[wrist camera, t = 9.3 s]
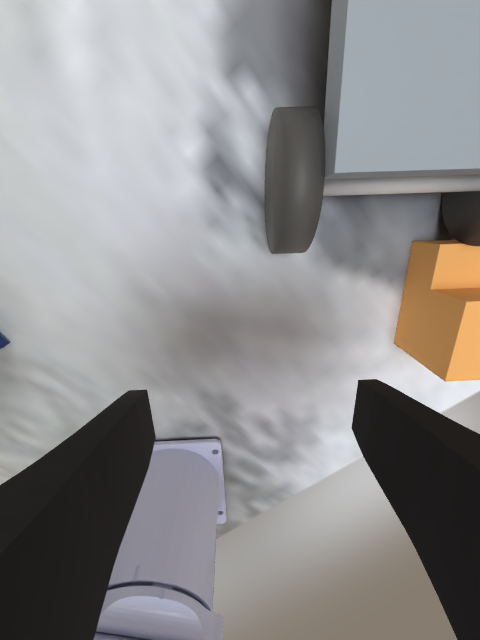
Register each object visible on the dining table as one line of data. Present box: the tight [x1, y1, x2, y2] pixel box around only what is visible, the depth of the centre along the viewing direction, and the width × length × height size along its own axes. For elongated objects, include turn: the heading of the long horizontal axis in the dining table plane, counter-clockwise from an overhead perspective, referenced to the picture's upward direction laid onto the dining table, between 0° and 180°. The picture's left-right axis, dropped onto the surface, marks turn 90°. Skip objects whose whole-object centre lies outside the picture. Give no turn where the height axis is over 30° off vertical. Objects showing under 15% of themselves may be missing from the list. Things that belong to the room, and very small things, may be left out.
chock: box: [394, 240, 480, 381], centre depth 16 cm, size 7×4×5 cm, turn 2°
